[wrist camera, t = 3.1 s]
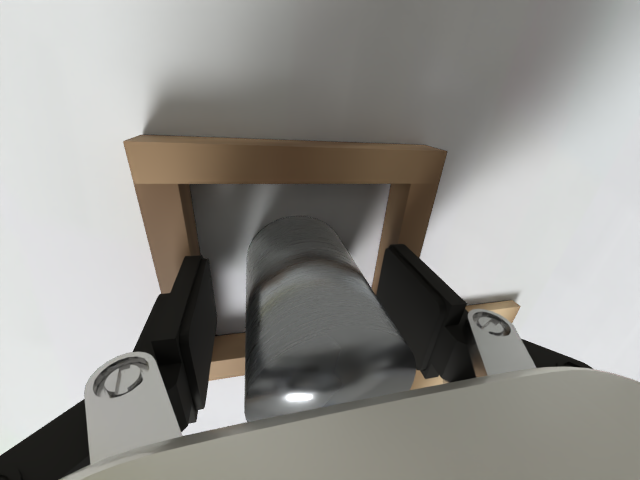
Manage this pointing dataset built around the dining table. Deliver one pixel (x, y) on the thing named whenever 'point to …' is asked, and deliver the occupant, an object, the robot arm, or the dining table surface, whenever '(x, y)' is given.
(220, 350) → the collar
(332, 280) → the peg
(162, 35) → the dining table surface
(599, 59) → the dining table surface
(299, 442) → the robot arm
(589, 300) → the dining table surface
